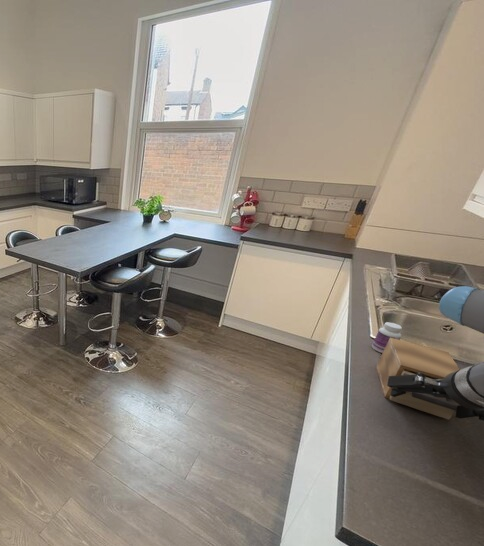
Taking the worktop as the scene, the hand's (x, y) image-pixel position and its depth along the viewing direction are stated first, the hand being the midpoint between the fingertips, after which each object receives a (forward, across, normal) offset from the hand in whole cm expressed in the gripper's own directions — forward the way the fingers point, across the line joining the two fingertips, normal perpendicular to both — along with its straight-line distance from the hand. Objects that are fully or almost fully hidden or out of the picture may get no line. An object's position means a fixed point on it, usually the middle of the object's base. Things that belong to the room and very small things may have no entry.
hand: (424, 401), depth 77 cm
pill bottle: (+25, -3, +19) cm, 32 cm away
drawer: (+6, 0, +2) cm, 6 cm away
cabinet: (+10, 0, +4) cm, 11 cm away
